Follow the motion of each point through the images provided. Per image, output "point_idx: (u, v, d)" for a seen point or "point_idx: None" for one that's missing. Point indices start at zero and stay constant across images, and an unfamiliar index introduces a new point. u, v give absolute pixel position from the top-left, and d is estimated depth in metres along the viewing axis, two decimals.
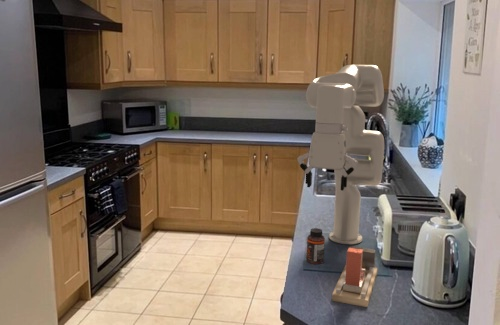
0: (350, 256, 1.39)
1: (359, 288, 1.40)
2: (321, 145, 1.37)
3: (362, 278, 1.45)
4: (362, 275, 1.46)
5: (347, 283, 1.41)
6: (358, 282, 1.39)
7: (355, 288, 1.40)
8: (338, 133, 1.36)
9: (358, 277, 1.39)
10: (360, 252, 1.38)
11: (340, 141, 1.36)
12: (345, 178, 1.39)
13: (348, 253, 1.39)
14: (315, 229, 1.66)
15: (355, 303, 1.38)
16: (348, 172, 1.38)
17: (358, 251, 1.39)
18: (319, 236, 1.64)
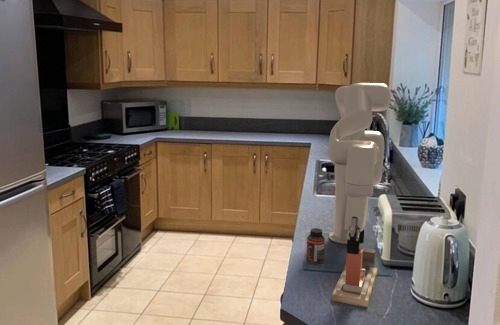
0: (350, 256, 1.39)
1: (359, 288, 1.40)
2: (366, 206, 1.34)
3: (362, 278, 1.45)
4: (362, 275, 1.46)
5: (347, 283, 1.41)
6: (358, 282, 1.39)
7: (355, 288, 1.40)
8: None
9: (358, 277, 1.39)
10: (360, 252, 1.38)
11: None
12: (361, 230, 1.43)
13: (348, 253, 1.39)
14: (315, 229, 1.66)
15: (355, 303, 1.38)
16: None
17: None
18: (319, 236, 1.64)
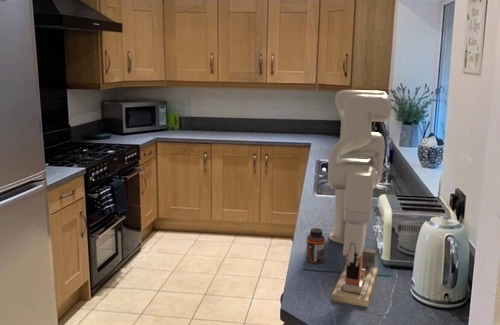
0: None
1: (359, 288, 1.40)
2: (364, 232, 1.36)
3: (362, 278, 1.45)
4: (362, 275, 1.46)
5: (347, 283, 1.41)
6: (358, 282, 1.39)
7: (355, 288, 1.40)
8: None
9: (358, 277, 1.39)
10: None
11: None
12: None
13: (348, 253, 1.39)
14: (315, 229, 1.66)
15: (355, 303, 1.38)
16: None
17: None
18: (319, 236, 1.64)
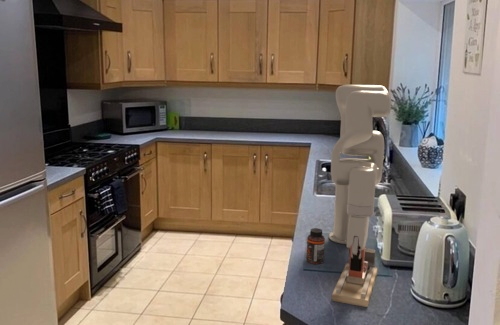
0: None
1: (362, 280, 1.45)
2: (367, 225, 1.42)
3: (365, 270, 1.50)
4: (365, 267, 1.51)
5: (350, 275, 1.46)
6: (361, 274, 1.45)
7: (358, 280, 1.45)
8: None
9: (361, 269, 1.45)
10: None
11: None
12: None
13: (351, 246, 1.44)
14: (315, 229, 1.66)
15: (355, 303, 1.38)
16: None
17: None
18: (319, 236, 1.64)
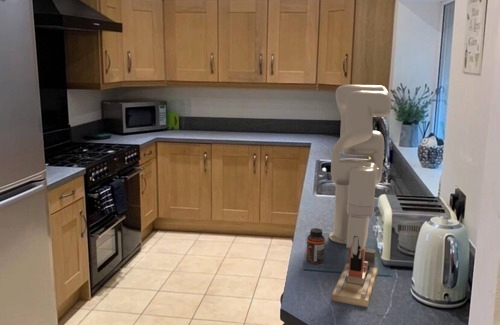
0: None
1: (362, 280, 1.45)
2: (367, 225, 1.42)
3: (365, 270, 1.50)
4: (365, 267, 1.51)
5: (350, 275, 1.46)
6: (361, 274, 1.45)
7: (358, 280, 1.45)
8: None
9: (361, 269, 1.45)
10: None
11: None
12: None
13: (351, 246, 1.44)
14: (315, 229, 1.66)
15: (355, 303, 1.38)
16: None
17: None
18: (319, 236, 1.64)
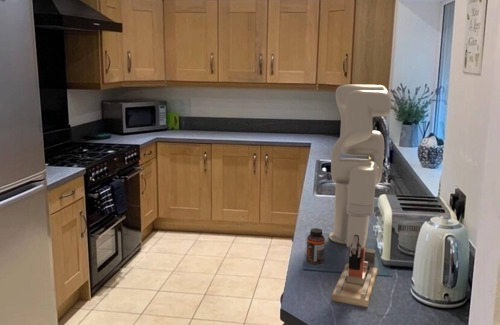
0: None
1: (362, 280, 1.45)
2: (367, 224, 1.42)
3: (365, 270, 1.50)
4: (365, 267, 1.51)
5: (350, 275, 1.46)
6: (361, 274, 1.45)
7: (358, 280, 1.45)
8: None
9: (361, 269, 1.45)
10: None
11: None
12: None
13: None
14: (315, 229, 1.66)
15: (355, 303, 1.38)
16: None
17: None
18: (319, 236, 1.64)
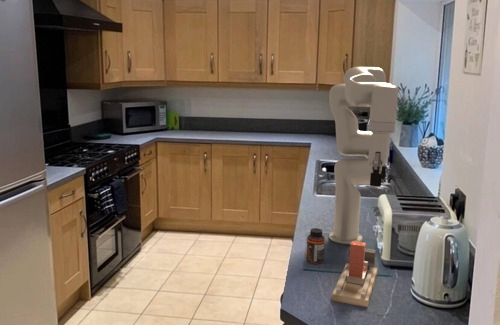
0: (353, 249, 1.44)
1: (362, 280, 1.45)
2: (388, 142, 1.45)
3: (365, 270, 1.50)
4: (365, 267, 1.51)
5: (350, 275, 1.46)
6: (361, 274, 1.45)
7: (358, 280, 1.45)
8: None
9: (361, 269, 1.45)
10: (363, 245, 1.44)
11: None
12: None
13: (351, 246, 1.44)
14: (315, 229, 1.66)
15: (355, 303, 1.38)
16: None
17: (361, 244, 1.44)
18: (319, 236, 1.64)
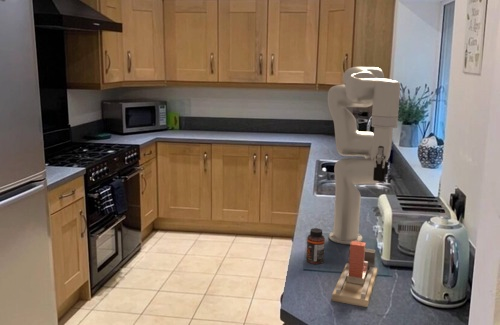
0: (353, 249, 1.44)
1: (362, 280, 1.45)
2: (391, 137, 1.46)
3: (365, 270, 1.50)
4: (365, 267, 1.51)
5: (350, 275, 1.46)
6: (361, 274, 1.45)
7: (358, 280, 1.45)
8: None
9: (361, 269, 1.45)
10: (363, 245, 1.44)
11: None
12: None
13: (351, 246, 1.44)
14: (315, 229, 1.66)
15: (355, 303, 1.38)
16: None
17: (361, 244, 1.44)
18: (319, 236, 1.64)
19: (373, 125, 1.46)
